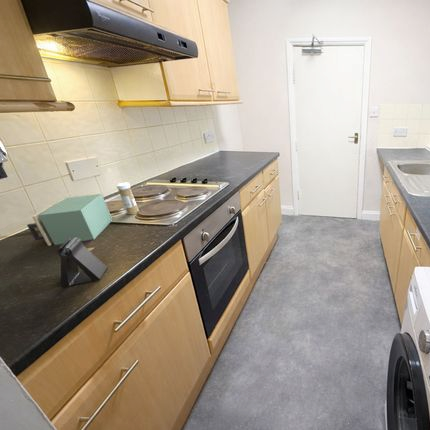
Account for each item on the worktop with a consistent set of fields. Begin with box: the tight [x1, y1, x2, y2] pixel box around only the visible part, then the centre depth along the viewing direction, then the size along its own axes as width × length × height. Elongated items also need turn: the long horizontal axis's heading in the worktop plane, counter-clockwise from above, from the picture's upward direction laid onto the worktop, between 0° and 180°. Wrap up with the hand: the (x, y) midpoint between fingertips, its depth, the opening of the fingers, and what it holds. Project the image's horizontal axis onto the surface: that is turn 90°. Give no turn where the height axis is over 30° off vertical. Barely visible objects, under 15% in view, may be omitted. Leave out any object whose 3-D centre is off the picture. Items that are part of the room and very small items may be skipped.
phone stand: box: [56, 237, 108, 289], centre depth 74 cm, size 9×6×12 cm, turn 109°
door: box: [26, 197, 66, 246], centre depth 98 cm, size 4×17×12 cm, turn 14°
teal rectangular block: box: [39, 193, 113, 246], centre depth 100 cm, size 12×17×12 cm
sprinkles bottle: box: [116, 182, 140, 215], centre depth 115 cm, size 5×5×14 cm
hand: (0, 178), depth 93 cm, fingers closed
